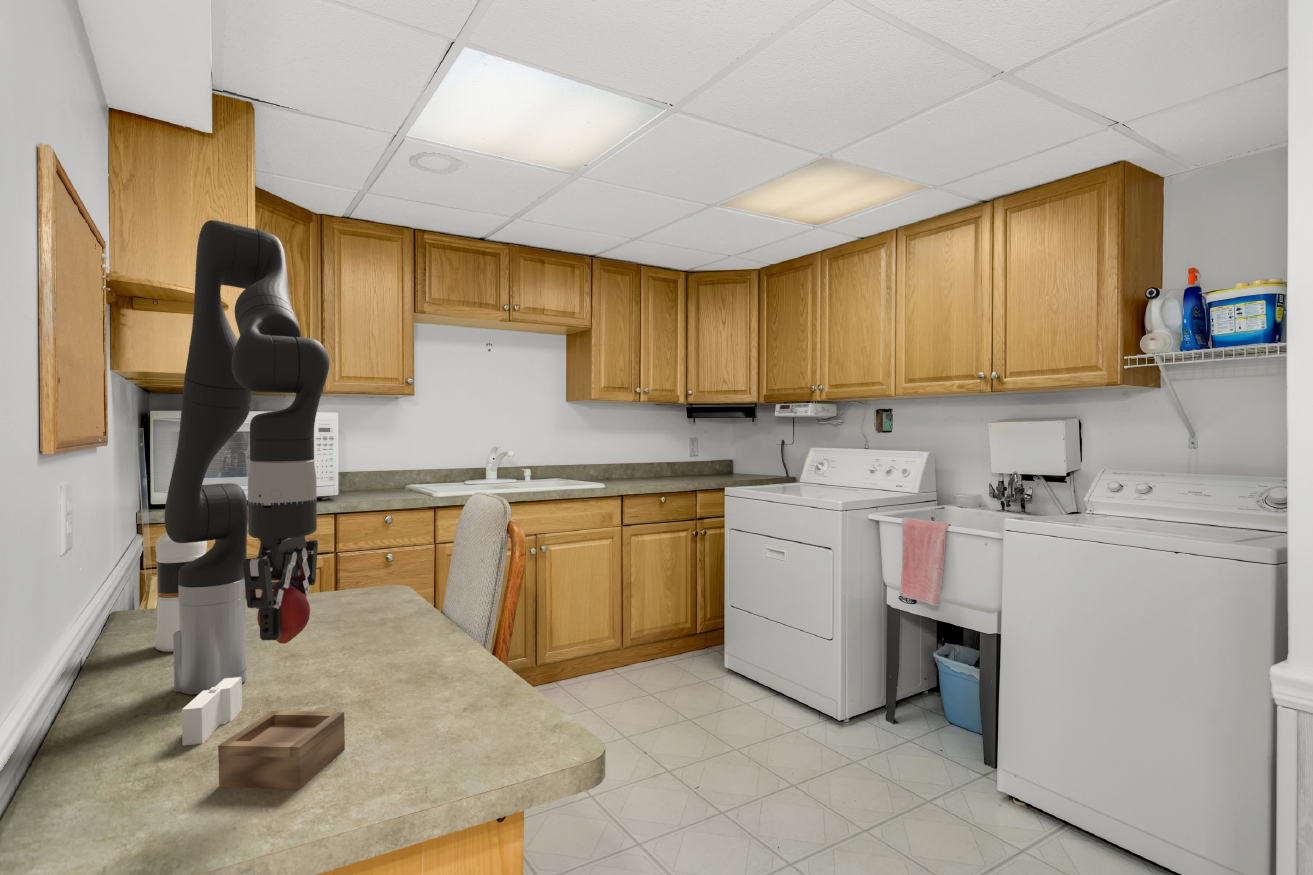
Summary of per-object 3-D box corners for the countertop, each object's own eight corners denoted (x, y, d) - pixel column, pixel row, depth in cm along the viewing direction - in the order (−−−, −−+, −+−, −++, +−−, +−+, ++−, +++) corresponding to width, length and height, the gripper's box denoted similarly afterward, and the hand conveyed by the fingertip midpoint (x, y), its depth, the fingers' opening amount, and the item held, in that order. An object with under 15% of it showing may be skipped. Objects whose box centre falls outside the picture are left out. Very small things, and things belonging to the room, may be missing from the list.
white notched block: (189, 758, 89) (188, 714, 89) (138, 742, 94) (137, 700, 94) (293, 714, 103) (293, 676, 103) (244, 702, 108) (243, 665, 108)
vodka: (170, 656, 129) (167, 496, 129) (144, 648, 134) (141, 494, 133) (221, 642, 137) (218, 492, 137) (195, 636, 142) (192, 490, 141)
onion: (271, 636, 89) (270, 574, 89) (317, 635, 89) (317, 573, 89) (248, 651, 83) (248, 585, 83) (298, 650, 84) (298, 584, 83)
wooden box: (219, 789, 81) (218, 745, 81) (272, 749, 91) (271, 710, 91) (300, 791, 81) (299, 746, 81) (344, 751, 91) (344, 711, 91)
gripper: (281, 491, 93) (282, 615, 93) (217, 503, 78) (219, 650, 79) (338, 491, 93) (338, 614, 93) (284, 503, 79) (286, 650, 79)
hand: (284, 630), depth 86 cm, fingers closed on onion, 6 cm apart
